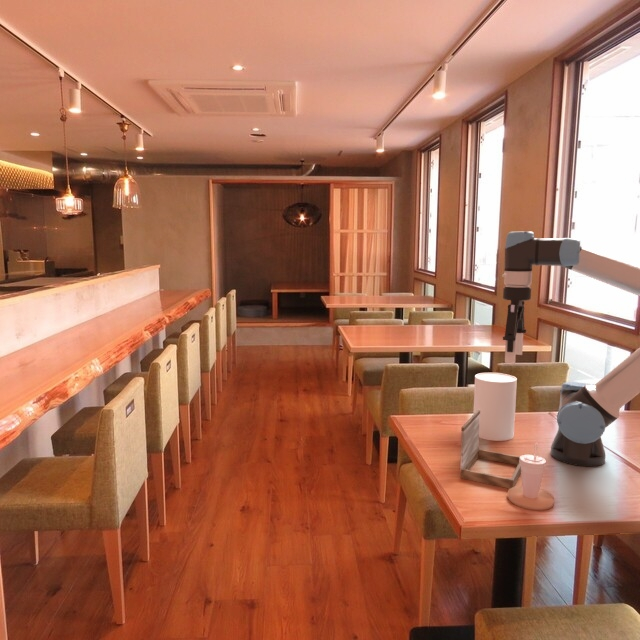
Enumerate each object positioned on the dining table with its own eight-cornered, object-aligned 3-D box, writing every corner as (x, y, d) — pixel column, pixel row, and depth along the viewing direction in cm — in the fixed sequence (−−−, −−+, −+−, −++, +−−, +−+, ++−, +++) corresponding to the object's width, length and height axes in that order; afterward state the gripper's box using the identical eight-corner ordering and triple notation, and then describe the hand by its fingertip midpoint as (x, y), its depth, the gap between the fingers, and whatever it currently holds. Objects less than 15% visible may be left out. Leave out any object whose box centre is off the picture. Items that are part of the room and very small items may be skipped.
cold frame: (524, 465, 159) (527, 417, 157) (512, 489, 143) (515, 436, 141) (471, 454, 167) (473, 409, 164) (454, 476, 151) (456, 426, 149)
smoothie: (546, 502, 133) (550, 448, 131) (519, 499, 135) (522, 446, 133) (541, 490, 140) (544, 439, 138) (515, 488, 141) (518, 437, 139)
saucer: (556, 496, 139) (556, 491, 139) (550, 514, 130) (551, 509, 130) (512, 486, 145) (512, 482, 145) (503, 503, 135) (504, 499, 135)
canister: (508, 443, 176) (511, 384, 173) (467, 436, 183) (470, 378, 180) (517, 431, 187) (520, 375, 185) (478, 424, 194) (481, 370, 192)
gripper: (510, 282, 167) (507, 350, 170) (495, 288, 145) (492, 365, 148) (536, 283, 163) (532, 352, 166) (525, 289, 141) (521, 368, 144)
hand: (513, 358), depth 157 cm, fingers open, 13 cm apart
